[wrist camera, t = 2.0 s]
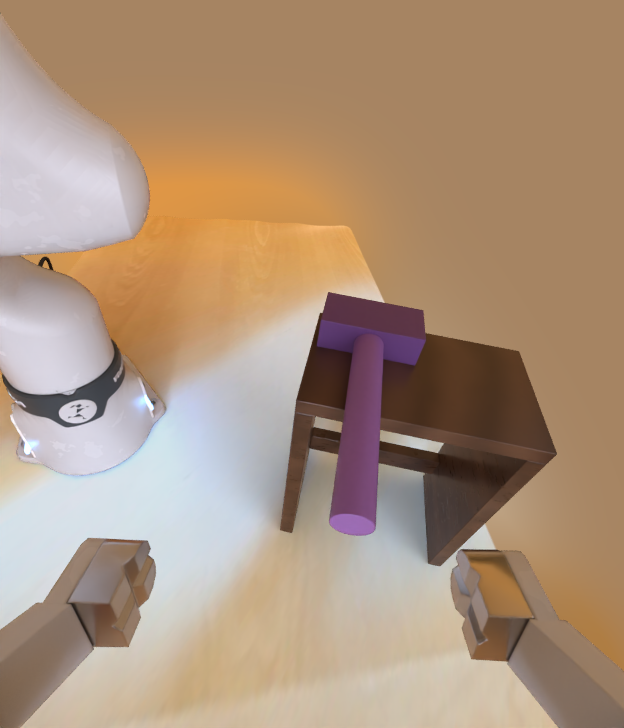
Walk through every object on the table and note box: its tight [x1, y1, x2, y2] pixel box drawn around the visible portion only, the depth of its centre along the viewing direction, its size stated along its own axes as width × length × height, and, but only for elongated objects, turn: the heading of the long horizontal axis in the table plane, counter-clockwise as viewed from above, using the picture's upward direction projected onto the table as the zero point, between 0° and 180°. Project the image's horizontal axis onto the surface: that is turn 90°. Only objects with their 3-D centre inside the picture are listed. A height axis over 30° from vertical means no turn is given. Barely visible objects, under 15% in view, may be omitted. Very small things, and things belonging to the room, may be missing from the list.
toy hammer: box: [317, 292, 426, 536], centre depth 28 cm, size 20×9×3 cm, turn 170°
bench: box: [280, 313, 557, 566], centre depth 41 cm, size 20×12×25 cm, turn 80°
